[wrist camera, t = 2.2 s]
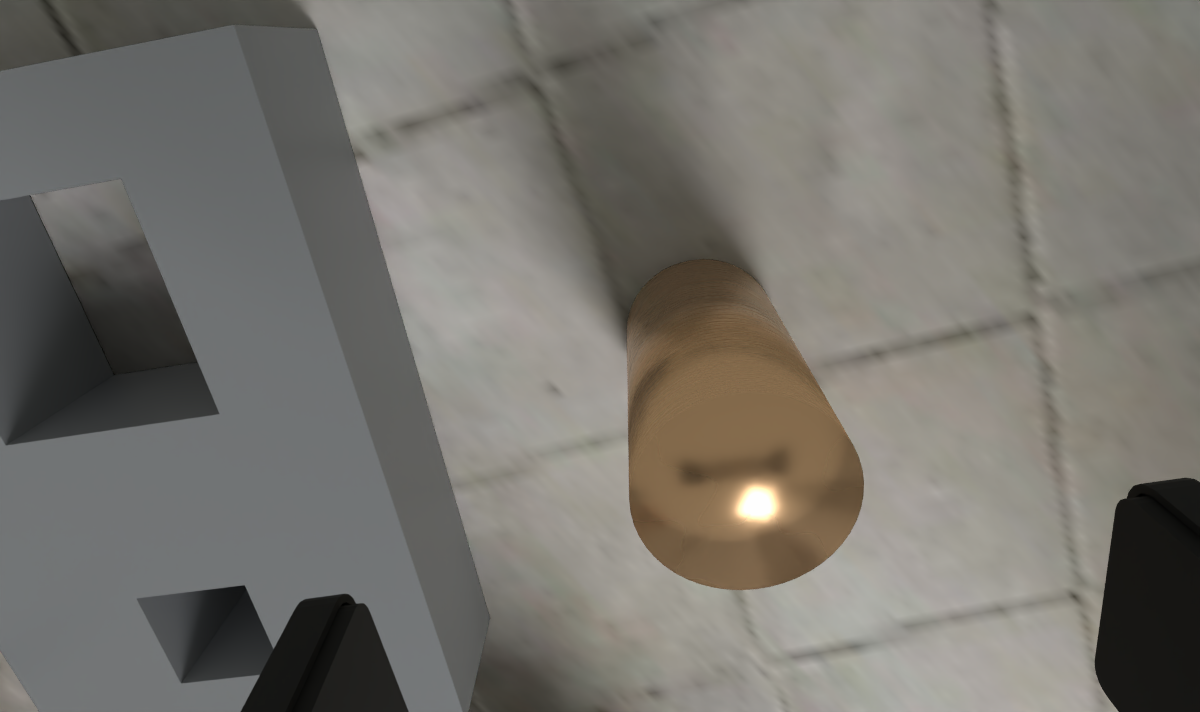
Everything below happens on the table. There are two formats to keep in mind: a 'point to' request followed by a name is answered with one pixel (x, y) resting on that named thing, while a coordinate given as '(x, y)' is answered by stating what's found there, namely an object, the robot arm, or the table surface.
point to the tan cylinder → (731, 435)
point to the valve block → (214, 394)
